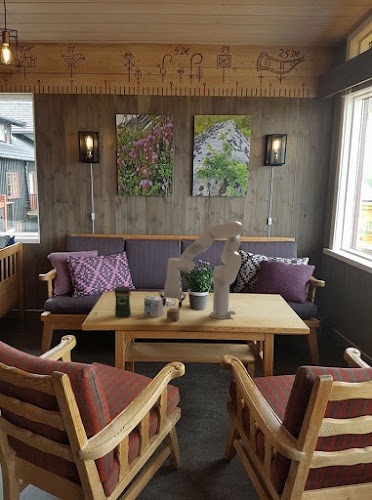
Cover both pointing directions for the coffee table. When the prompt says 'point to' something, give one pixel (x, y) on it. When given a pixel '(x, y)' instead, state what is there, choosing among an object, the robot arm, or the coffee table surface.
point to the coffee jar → (122, 301)
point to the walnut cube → (172, 314)
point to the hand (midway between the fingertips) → (172, 306)
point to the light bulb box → (153, 306)
